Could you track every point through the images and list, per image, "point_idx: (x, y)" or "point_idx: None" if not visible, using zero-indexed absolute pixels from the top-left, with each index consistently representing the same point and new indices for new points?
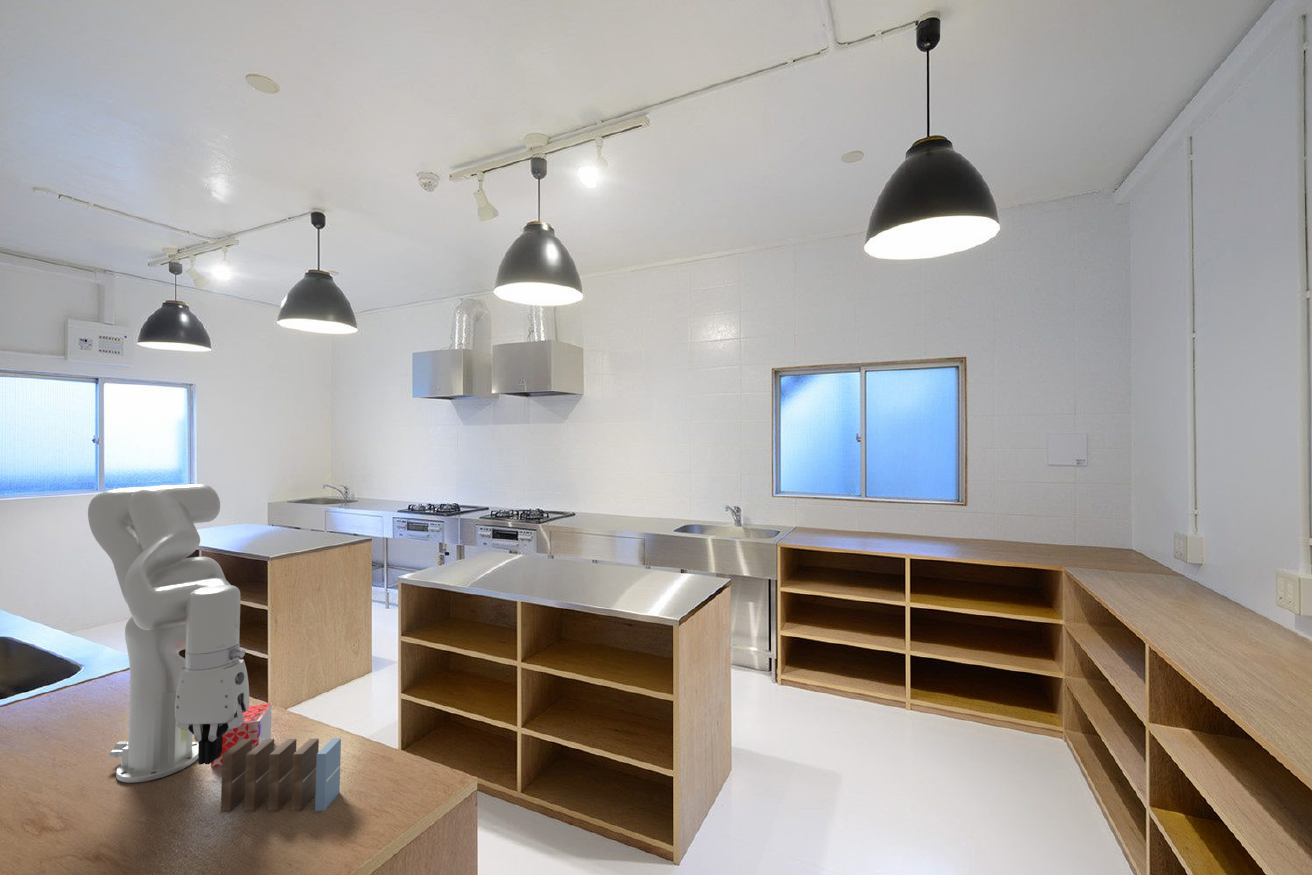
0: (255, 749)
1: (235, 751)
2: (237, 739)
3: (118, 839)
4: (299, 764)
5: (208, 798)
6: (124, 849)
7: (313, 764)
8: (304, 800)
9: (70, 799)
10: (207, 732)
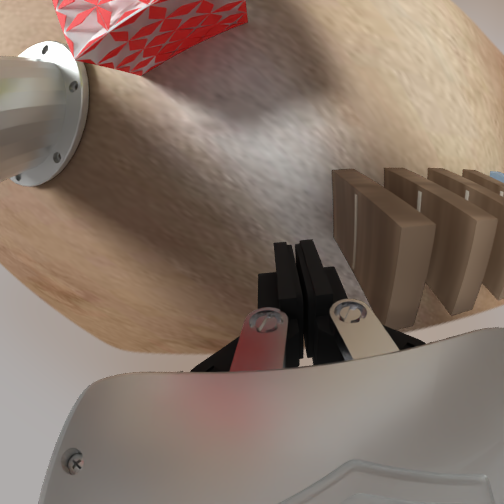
0: (467, 288)
1: (416, 309)
2: (177, 22)
3: (199, 315)
4: None
5: (261, 193)
6: (236, 331)
7: None
8: None
9: (22, 236)
10: (288, 356)
